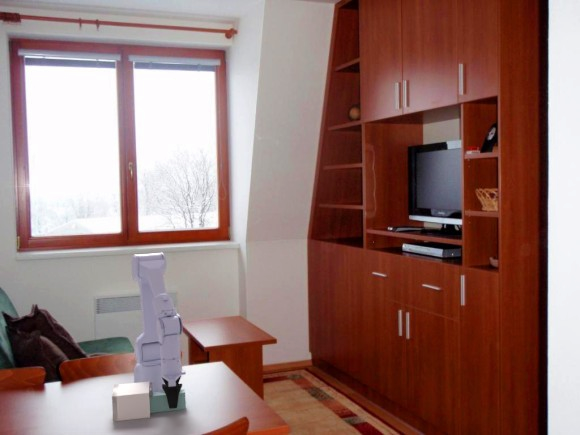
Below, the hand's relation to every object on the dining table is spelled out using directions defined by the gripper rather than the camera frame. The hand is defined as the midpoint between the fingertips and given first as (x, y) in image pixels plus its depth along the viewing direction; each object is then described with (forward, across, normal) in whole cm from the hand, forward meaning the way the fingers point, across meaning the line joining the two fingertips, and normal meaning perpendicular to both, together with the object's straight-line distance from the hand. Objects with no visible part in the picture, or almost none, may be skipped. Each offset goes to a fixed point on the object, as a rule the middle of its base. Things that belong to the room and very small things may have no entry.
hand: (172, 403), depth 185 cm
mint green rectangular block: (+2, 0, +4) cm, 5 cm away
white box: (+1, 0, +12) cm, 12 cm away
